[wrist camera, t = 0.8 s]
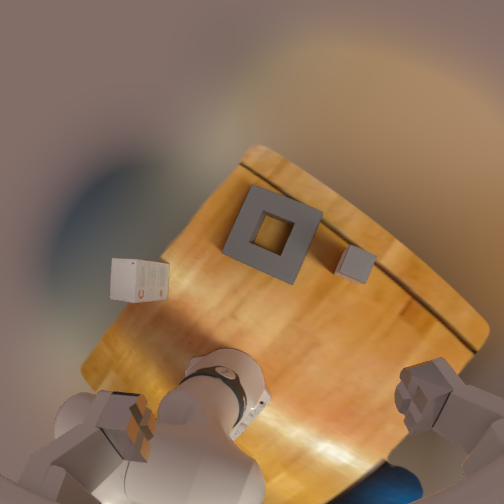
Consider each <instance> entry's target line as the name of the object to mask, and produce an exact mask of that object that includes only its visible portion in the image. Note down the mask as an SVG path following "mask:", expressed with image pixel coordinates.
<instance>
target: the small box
mask: <svg viewBox="0 0 504 504" xmlns="http://www.w3.org/2000/svg"><path fill="white" fill-rule="evenodd" d="M168 281H169V264H168V263H162V262H155V261H147V260H141V259H122V258H112V263H111V279H110V299H112V300H118V301H124V302H130V303H140V302H151V301H162V300H167V299H168Z"/></svg>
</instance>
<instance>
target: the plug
mask: <svg viewBox="0 0 504 504" xmlns="http://www.w3.org/2000/svg"><path fill="white" fill-rule="evenodd" d="M376 257H377V256H375V255H373V254H371V253H369V252H366V251H364V250H362V249H360V248H357V247H355V246H353V245H351V244H350V245H349V246H348V248H347V249H346V250H345V251H344V252H343V253H342V255H341V258H340V260H339V263H338V265H337V267H336V270H335V272H334V275H336V276H339V277H341V278H343V279H345V280H348V281H350V282H352V283H355V284H366V282H367V279H368V277H369V274H370V272H371V269H372V267H373V264H374V262H375V259H376Z"/></svg>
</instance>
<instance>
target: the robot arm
mask: <svg viewBox="0 0 504 504" xmlns="http://www.w3.org/2000/svg"><path fill="white" fill-rule="evenodd" d="M400 379H401V382H400V383H399V384H398V385H397V386H396V390H395V404H396V407H397V409H398V411H399V412H400V413H402V414H404V415H405V419H404V423H405V425H406V427H407V429H408V431H409V433H410V435H414V434H417V433H420V432H423V431H426V430H429V429H432V428H433V429H432V430H433V431H435V432H436V433H438V434H439V435H441V436H442V437H444V438H445V439H447V440H448V441H450V442H452V443H453V444H455V445H456V446H457V447H459V448H461V449H462V450H464V451H465V452H467V453H468V454H469V455H468V457H467V458H466V459H465V460H464V461H463V463H462V465H461V467H460V468H461V470H462V472H463V474H464V475H465V478H463V479H462V480H460V481H458V482H456V483H454V484H452V485H450V486H448V487H446V488H444V489H442V490H440V491H438V492H435V493H433V494H431V495H429V496H426V497H424V498H422V499H419V500H417V501H414V502H412V503H409V504H504V399H503V398H500V397H498V396H495V395H493V394H490V393H488V392H486V391H483V390H481V389H478V388H476V387H474V386H471V385H467V386H466V385H465V384H464V383H463V381H462V380H461V379H460V378H459V376H458V375H457V374H456V372H455V371H454V370H453V369H452V367H451V366H450V365H449V364H448V362H447V361H446V360H445V359H444V358H442V357H439V358H436V359H433V360H430V361H426V362H423V363H420V364H416V365H413V366H409V367H406V368H403V370H402V371H401V373H400ZM260 401H263V402H264V403H263V404H262V403H260ZM270 401H271V395H270V393H269V391H268V390H267V388H266V387H265V383H264V377H263V374H262V371H261V369H260V367H259V366H258V364H257V363H256V362H255V361H254V360H253V359H252V358H251V357H250V356H249V355H247V354H245V353H244V352H241V351H239V350H235V349H219V350H216V351H213V352H211V353H209V354H208V355H206V356H197V357H193V358H192V359H191V360H190V362H189V367H188V369H187V370H186V371H185V378H184V379H183V380H182V381H181V383H180V384H179V386H177V387H176V388H174V389H173V390H171V391H170V392H168V393H167V394H166V395H165V396H164V397H163V399H162V400H161V402H160V404H159V407H158V414H157V417H158V420H157V419H155V418H154V415H153V413H152V411H151V410H150V409H149V408H147V407H146V405H147V400H146V398H145V396H144V395H142V394H134V393H124V392H115V391H106V390H101V391H99V392H98V393H97V395H95V394H91V393H86V392H84V393H79V394H76V395H74V396H72V397H71V398H69V399H68V400H67V401H66V402H65V403H64V404H63V405H62V406H61V407H60V409H59V411H58V413H57V415H56V419H55V425H54V435H55V440H54V441H52V442H51V443H49V444H47V445H46V446H44V447H43V448H41V449H40V450H38V451H36V452H35V453H34V454H32V455H31V456H30V458H29V460H28V462H27V464H26V466H25V468H24V470H23V472H22V474H21V476H20V479H19V481H18V483H16V482H14V481H12V480H10V479H8V478H6V477H5V476H3V475H1V474H0V504H262V503H263V500H264V496H265V479H264V475H263V473H262V470H261V468H260V466H259V464H258V463H257V461H256V460H255V459H253V458H252V457H250V456H249V455H247V454H246V453H245V452H243V451H242V450H241V449H240V448H239V447H238V446H237V445H236V444H235V443H234V442H233V441H234V440H235V439H236V438H237V437H238V436H239V435H240V434H242V433H243V432H244V431H245V429H246V428H247V427H248V426H249V425H250V423H251V422H252V421H253V420H254V419H255V418H256V417H257V416H258V415H259V414H260V413H261V411H262V410H263V409H264V408H265V407H266V406H267V405H268V404H269V402H270Z"/></svg>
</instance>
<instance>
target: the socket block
mask: <svg viewBox="0 0 504 504" xmlns="http://www.w3.org/2000/svg"><path fill="white" fill-rule="evenodd" d="M266 215H268V216H270V217H273V218H275V219H277V220H280V221H282V222H285V223H287V224H290V225H292V226H294V227H293V229H292V231H291V234H290V236H289V238H288V240H287V243H286V245H285V247H284V250H283V252H282V254H281V256H280V255H277V254H275V253H273V252H270V251H268V250H266V249H264V248H261V247H259V246H257V245H254V244H253V243H254V241H255V239H256V236H257V234H258V232H259V230H260V227H261V225H262V223H263V221H264V218H265V216H266ZM322 216H323V212H322V211H320V210H317V209H315V208H313V207H310V206H308V205H305V204H303V203H300V202H298V201H295V200H292V199H290V198H287V197H285V196H282V195H280V194H277V193H274V192H272V191H269V190H266V189H264V188H261V187H258V186H255V185H253V184H252V186H251V188H250V191H249V193H248V195H247V197H246V199H245V201H244V204H243V206H242V208H241V210H240V212H239V215H238V217H237V219H236V221H235V224H234V226H233V228H232V230H231V232H230V235H229V237H228V239H227V241H226V244H225V246H224V248H223V250H222V254H224V255H226V256H229V257H231V258H233V259H235V260H237V261H240V262H242V263H244V264H246V265H248V266H251V267H253V268H255V269H257V270H260V271H262V272H264V273H266V274H268V275H271V276H273V277H275V278H277V279H280V280H282V281H284V282H286V283H289V284H291V285H293V284H294V282H295V280H296V278H297V275H298V273H299V271H300V268H301V266H302V264H303V262H304V259H305V257H306V255H307V252H308V250H309V248H310V245H311V243H312V240H313V238H314V236H315V233H316V231H317V229H318V226H319V224H320V221H321V219H322Z"/></svg>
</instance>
